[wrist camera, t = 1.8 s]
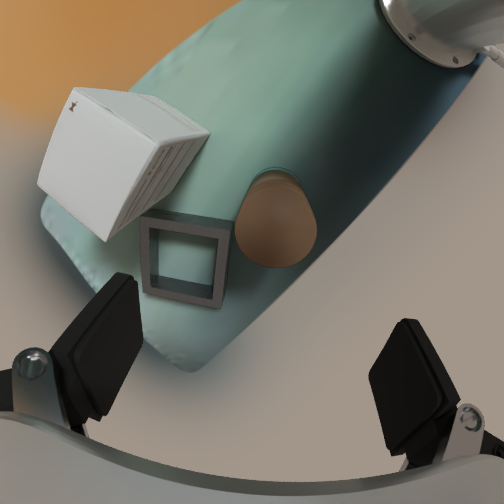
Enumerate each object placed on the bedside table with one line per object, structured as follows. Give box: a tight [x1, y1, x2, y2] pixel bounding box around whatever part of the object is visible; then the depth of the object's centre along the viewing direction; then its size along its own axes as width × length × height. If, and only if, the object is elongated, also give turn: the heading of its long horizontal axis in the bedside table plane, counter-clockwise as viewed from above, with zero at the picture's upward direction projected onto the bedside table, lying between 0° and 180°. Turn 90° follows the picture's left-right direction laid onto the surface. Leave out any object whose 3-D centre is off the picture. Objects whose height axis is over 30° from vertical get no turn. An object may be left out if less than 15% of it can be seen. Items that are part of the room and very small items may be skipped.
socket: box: [140, 209, 234, 309], centre depth 28 cm, size 9×9×2 cm
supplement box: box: [37, 87, 210, 242], centre depth 19 cm, size 7×7×13 cm
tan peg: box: [235, 167, 317, 268], centre depth 21 cm, size 5×5×10 cm
